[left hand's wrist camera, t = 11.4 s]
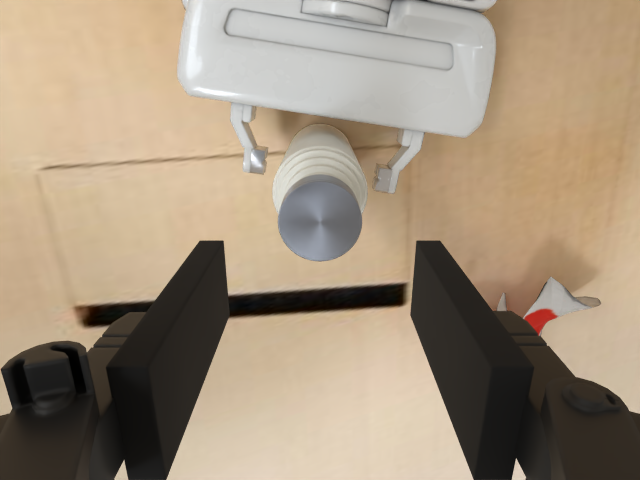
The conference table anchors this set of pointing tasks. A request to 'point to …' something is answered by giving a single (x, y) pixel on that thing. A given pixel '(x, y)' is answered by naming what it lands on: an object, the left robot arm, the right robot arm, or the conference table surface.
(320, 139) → the bottle
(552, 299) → the fish
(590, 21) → the conference table surface
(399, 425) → the conference table surface
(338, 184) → the cap
